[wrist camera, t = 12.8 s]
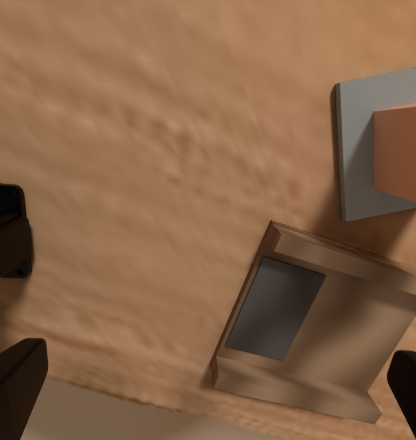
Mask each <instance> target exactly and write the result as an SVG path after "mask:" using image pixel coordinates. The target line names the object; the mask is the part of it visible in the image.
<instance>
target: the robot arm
mask: <svg viewBox="0 0 416 440" xmlns="http://www.w3.org/2000/svg"><path fill="white" fill-rule="evenodd" d="M11 190H14V191H15V193H16V196H14V195H13V194H12V193H11ZM31 253H32V250H31V240H30V230H29V220H28V219H27V217H26V212H25V202H24V193H23V190H22V188H21V187H20V186H18V185H15V184H2V183H0V278H1V277H2V278H25V277H27V276H28V275H29V274H30V273H31V261H30V254H31ZM20 269H23V270H24V272H25V273H24V272H22V271H21V270H20ZM47 372H48V357H47V346H46V341H45V340H44V339H42V338H26V339H24V340H22V341H20V342H18V343H17V344H15V345H13V346H12V347H10V348H8V349H7V350H5V351H3V352H2V353H0V440H20V438H21V436H22V434H23V431H24V429H25V426H26V424H27V421H28V419H29V416H30V414H31V412H32V409H33V407H34V405H35V402H36V400H37V397H38V395H39V393H40V390H41V388H42V385H43V383H44V380H45V378H46V375H47ZM387 381H388V384H389V386H390V388H391V390H392V392H393V394H394V396H395V398H396V400H397V402H398V404H399V406H400V408H401V410H402V412H403V414H404V416H405V418H406V420H407V422H408V424H409V426H410V428H411V430H412V432H413V434H414V436H415V438H416V352H414V351H408V350H398V351H396V352H395V353H394V355H393V358H392V361H391V364H390V367H389V370H388V372H387Z"/></svg>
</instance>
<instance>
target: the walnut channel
mask: <svg viewBox="0 0 416 440" xmlns="http://www.w3.org/2000/svg"><path fill="white" fill-rule="evenodd" d="M415 316H416V268H415V267H412V266H409V265H406V264H403V263H400V262H397V261H394V260H391V259H388V258H385V257H382V256H379V255H375V254H372V253H369V252H366V251H363V250H360V249H357V248H354V247H351V246H348V245H345V244H342V243H339V242H336V241H333V240H330V239H326V238H323V237H320V236H317V235H314V234H311V233H308V232H305V231H302V230H299V229H296V228H293V227H290V226H287V225H284V224H280V223H277V222H274V221H271V222H270V224H269V226H268V229H267V231H266V233H265V236H264V238H263V240H262V243H261V245H260V247H259V250H258V252H257V254H256V257H255V259H254V262H253V264H252V266H251V269H250V271H249V273H248V276H247V278H246V280H245V283H244V285H243V287H242V290H241V292H240V294H239V297H238V299H237V301H236V304H235V306H234V308H233V311H232V313H231V316H230V318H229V320H228V323H227V325H226V327H225V330H224V332H223V334H222V337H221V339H220V341H219V344H218V346H217V348H216V351H215V353H214V355H213V358H212V360H211V362H210V364H211V370H212V381H213V389H215V390H220V391H224V392H229V393H234V394H238V395H243V396H247V397H252V398H256V399H261V400H265V401H270V402H275V403H279V404H284V405H288V406H293V407H297V408H302V409H306V410H311V411H316V412H320V413H325V414H329V415H334V416H338V417H343V418H347V419H352V420H357V421H361V422H366V423H370V424H375V423H376V422H377V420H378V419H379V417H380V416H381V414H382V413H381V412H380V410H379V409H378V407H377V406H376V404H375V403H374V401H373V400H372V398H371V397H370V396H369V394H368V393H367V391H368V390H369V388H370V387H371V385H372V383H373V382H374V380H375V379H376V377H377V376H378V374H379V372H380V371H381V369H382V368H383V366H384V365H385V363H386V361H387V360H388V358H389V357H390V355H391V354H392V352H393V350H394V349H395V347H396V346H397V344H398V343H399V341H400V339H401V338H402V336H403V335H404V333H405V332H406V330H407V328H408V327H409V325H410V324H411V322H412V320H413V319H414V317H415Z"/></svg>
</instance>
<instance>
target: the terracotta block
mask: <svg viewBox="0 0 416 440" xmlns="http://www.w3.org/2000/svg"><path fill="white" fill-rule="evenodd" d="M374 189H376V190H379V191H382V192H385V193H388V194H392V195H395V196H398V197H401V198H404V199H408V200H411V201H414V202H416V103H414V104H409V105H404V106H399V107H393V108H388V109H383V110H378V111H374Z"/></svg>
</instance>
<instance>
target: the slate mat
mask: <svg viewBox="0 0 416 440" xmlns="http://www.w3.org/2000/svg"><path fill="white" fill-rule="evenodd" d="M335 91H336V112H337V133H338V154H339V175H340V196H341V217H342V220H343V221H345V222H349V221H354V220H359V219H364V218H369V217H374V216H379V215H384V214H389V213H394V212H399V211H404V210H409V209H414V208H416V202H414V201H411V200H408V199H404V198H401V197H398V196H395V195H392V194H388V193H385V192H382V191H379V190H376V189H374V111H378V110H383V109H388V108H393V107H399V106H404V105H409V104H414V103H416V68H411V69H406V70H401V71H396V72H391V73H386V74H381V75H376V76H371V77H366V78H361V79H356V80H351V81H346V82H341V83H338V84H335Z"/></svg>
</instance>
